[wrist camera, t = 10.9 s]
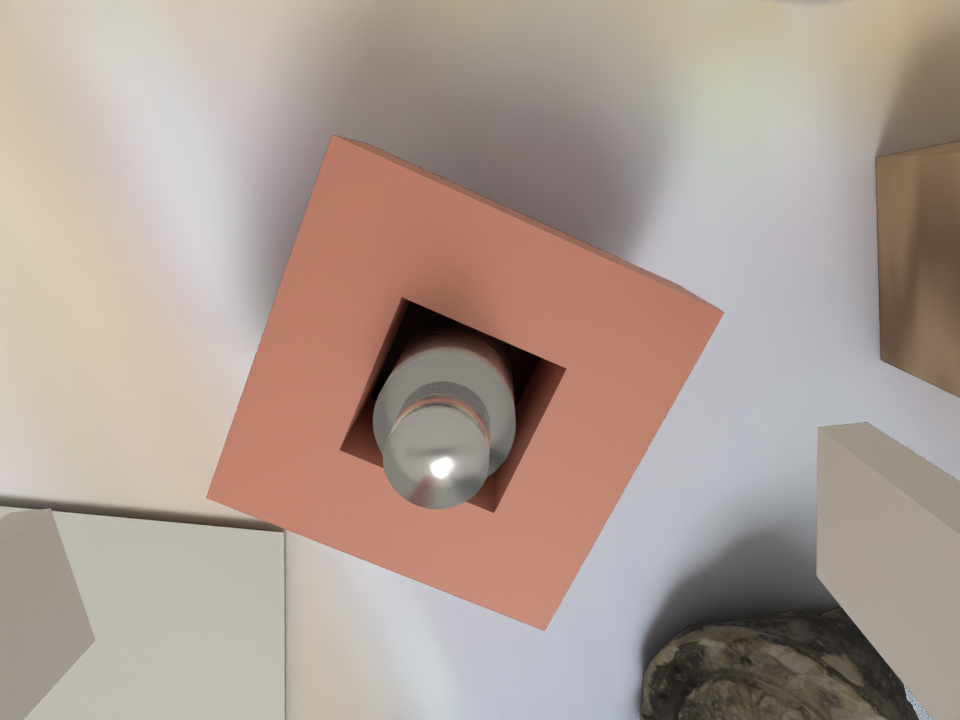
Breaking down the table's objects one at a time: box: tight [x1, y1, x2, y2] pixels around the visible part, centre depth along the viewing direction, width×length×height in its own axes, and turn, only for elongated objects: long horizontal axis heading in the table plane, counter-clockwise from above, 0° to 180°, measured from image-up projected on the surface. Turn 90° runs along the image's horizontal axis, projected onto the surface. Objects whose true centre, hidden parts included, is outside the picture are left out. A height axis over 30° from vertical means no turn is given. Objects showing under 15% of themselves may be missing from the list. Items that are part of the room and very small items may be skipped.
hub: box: [370, 301, 541, 509], centre depth 18 cm, size 7×7×10 cm
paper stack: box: [0, 506, 285, 720], centre depth 26 cm, size 23×25×1 cm
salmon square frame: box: [206, 135, 724, 631], centre depth 18 cm, size 10×10×4 cm
